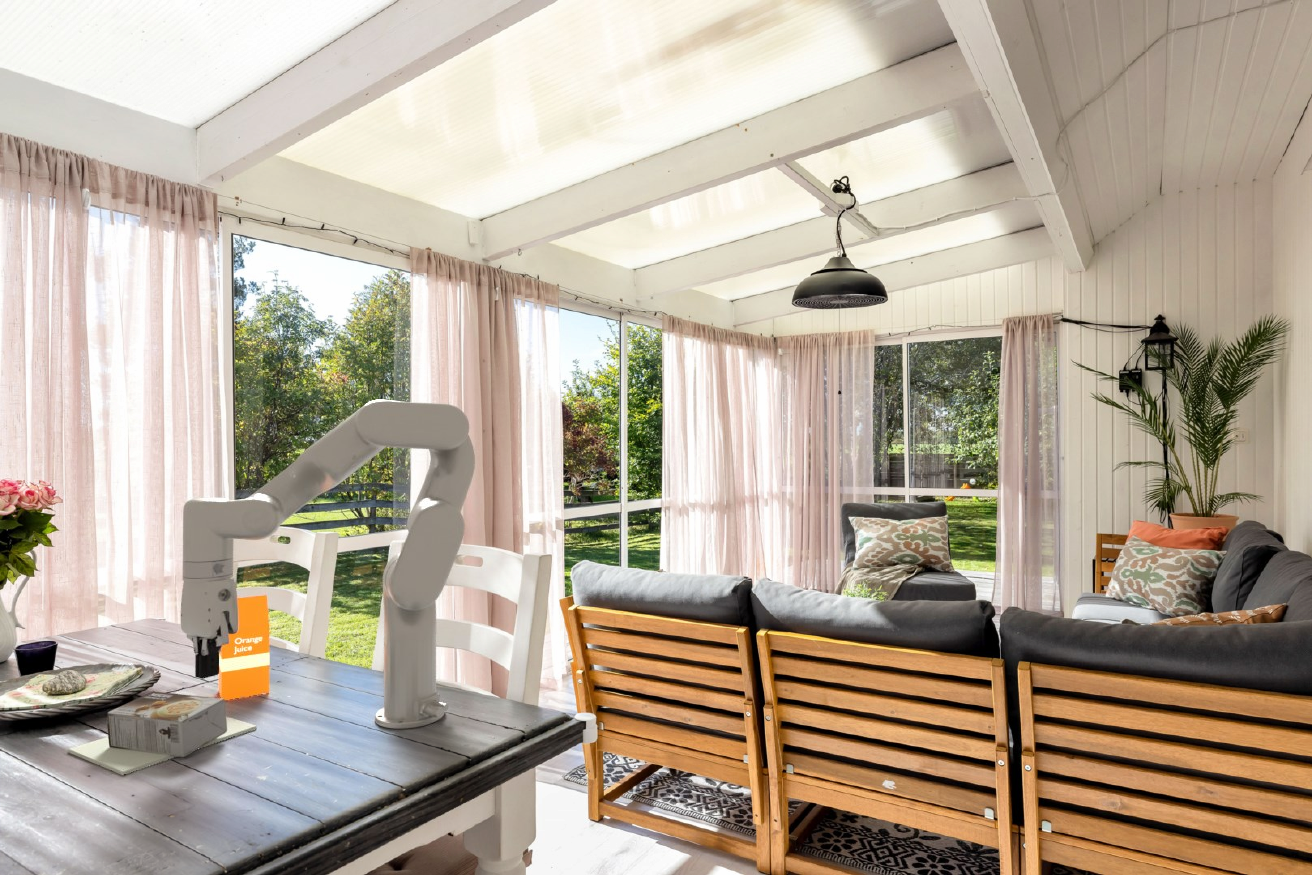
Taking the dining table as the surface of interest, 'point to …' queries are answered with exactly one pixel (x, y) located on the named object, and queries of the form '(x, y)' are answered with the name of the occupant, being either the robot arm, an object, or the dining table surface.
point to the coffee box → (167, 723)
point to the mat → (136, 760)
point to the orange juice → (246, 652)
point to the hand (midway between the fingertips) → (207, 675)
